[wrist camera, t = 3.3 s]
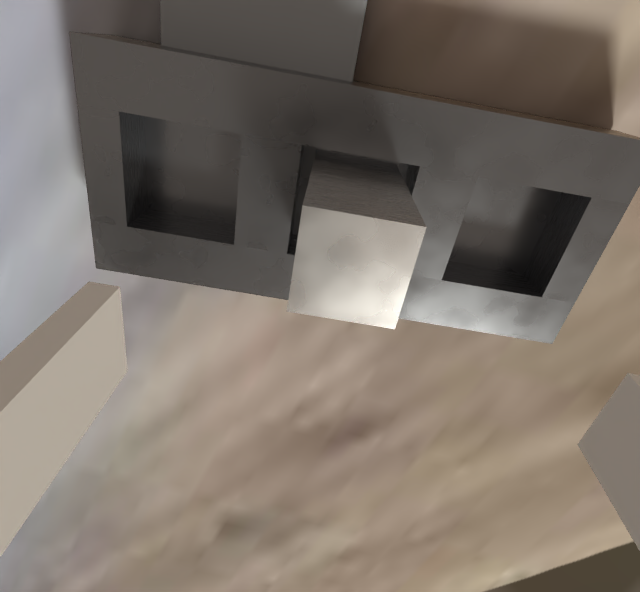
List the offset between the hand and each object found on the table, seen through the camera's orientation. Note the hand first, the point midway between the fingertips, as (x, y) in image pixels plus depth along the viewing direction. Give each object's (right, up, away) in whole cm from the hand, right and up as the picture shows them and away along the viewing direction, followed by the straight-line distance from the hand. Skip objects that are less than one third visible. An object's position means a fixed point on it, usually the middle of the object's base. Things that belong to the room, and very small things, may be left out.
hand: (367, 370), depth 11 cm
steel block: (0, +8, +14) cm, 16 cm away
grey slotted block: (+1, +8, +15) cm, 17 cm away
